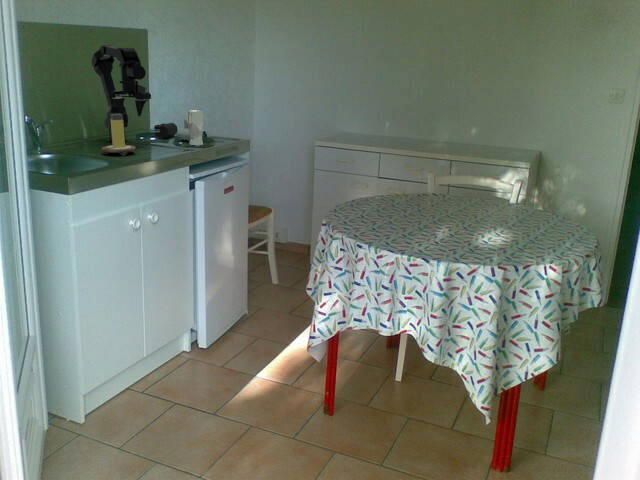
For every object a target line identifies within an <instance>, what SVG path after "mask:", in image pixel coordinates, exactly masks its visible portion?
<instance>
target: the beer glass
mask: <svg viewBox="0 0 640 480" xmlns="http://www.w3.org/2000/svg"><path fill="white" fill-rule="evenodd" d="M203 112H204V111H203V110H202V109H200V110H199V109H190V110H187V115H186V116H187V117H186V119H187V123H188V129H189V134H190V141H188V142H189V144H191V145H195V146H194V147H201V146H203V145H204V143H203V137H202V132H203V129H204V113H203ZM191 145H190V146H191ZM200 145H201V146H200Z"/></svg>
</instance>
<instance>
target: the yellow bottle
mask: <svg viewBox="0 0 640 480" xmlns="http://www.w3.org/2000/svg"><path fill="white" fill-rule="evenodd" d="M110 118H111V131H112V143H111V145H113V147H114V148H122V147H125V145H126V141H125V138H126V137H125V138H124V131H125V127H124V124H123V115H122V114H110Z"/></svg>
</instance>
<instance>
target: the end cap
mask: <svg viewBox="0 0 640 480" xmlns="http://www.w3.org/2000/svg"><path fill="white" fill-rule="evenodd" d="M153 129H154V130H155V131H159V132H154V136H155V138H158V139H157V140H166V139H169V138H172V137H174V136H175V135H176V134H177V133H178V125H177V124H175V123H174V122H169V123H160V124H156V125H154V127H153Z"/></svg>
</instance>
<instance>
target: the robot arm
mask: <svg viewBox="0 0 640 480" xmlns="http://www.w3.org/2000/svg"><path fill="white" fill-rule="evenodd" d="M115 58H116V60H117V61H119V62H120V63H119V65H118V67H119V68H120V77H121V80H119V84H121V90H119V89H118V90H116V87H115V83H114V80H113V79H114V78H113V76H112V71H113V67H114V66H113V64H114V62H115ZM91 66H92V67H93V69H94V72H95V73H96V74H97V75H98V76H99V77H100V80H101V83H102V87H103V91H104V96H105V99H106V102H107V105H108V106H107V107H108V108H107V112H106V118H105V121H104V127H105V129H108V135H109V139H107V140H106V141H107V142H110V143H111V142H112V131H111V118H110V114H122V115H123V124H124V128H128V125H129V116H128V113H127V110H126V107H125V105H124V101H125V100H126V98H135V99H136V100H134V102H135V107H136V108H135V109H136V112H137V116H138V117H141V116H142V113H143V110H144V106H145V104H146V103H147V102H148V101H149V100H152V95H151V93H150V92H149V91H146V90H147V88H146V87H145V86H143V85H140V84H139V81H138V80H140V81H141V80H144V78H145V76H146V74H147V73H146V69H145V68H144V67H143V66H142V62H141V58H140V57H139V55H138V52H137V50H136V49H135V48H134V47H118V46H113V45H110V44H108V45H107V44H102V45H101V46H99V49H98V50H97V51H95V52H94V53H93V55H92V57H91ZM124 138H125V142H126V141H128V139H126V131H125V130H124Z"/></svg>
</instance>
